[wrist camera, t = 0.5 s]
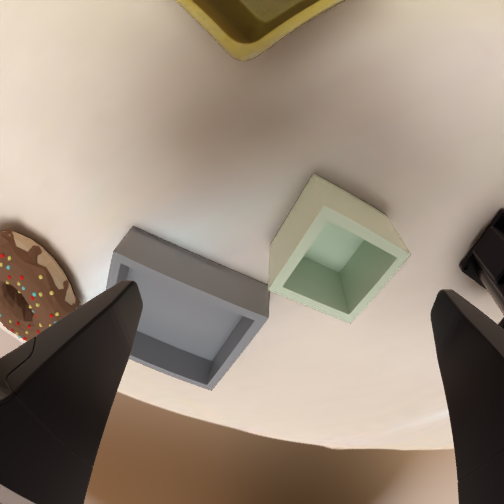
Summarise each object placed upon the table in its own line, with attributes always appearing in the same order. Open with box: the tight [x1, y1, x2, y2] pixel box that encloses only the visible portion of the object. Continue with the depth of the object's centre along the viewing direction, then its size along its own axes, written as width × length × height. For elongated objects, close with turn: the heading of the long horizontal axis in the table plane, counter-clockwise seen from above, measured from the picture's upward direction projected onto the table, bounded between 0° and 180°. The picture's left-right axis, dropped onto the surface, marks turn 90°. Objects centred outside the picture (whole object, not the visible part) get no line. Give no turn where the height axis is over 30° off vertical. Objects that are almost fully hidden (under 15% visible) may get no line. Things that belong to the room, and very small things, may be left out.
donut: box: [0, 228, 79, 341], centre depth 24 cm, size 14×14×5 cm
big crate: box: [106, 226, 270, 391], centre depth 24 cm, size 11×11×4 cm
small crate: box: [268, 173, 411, 324], centre depth 19 cm, size 6×6×5 cm
